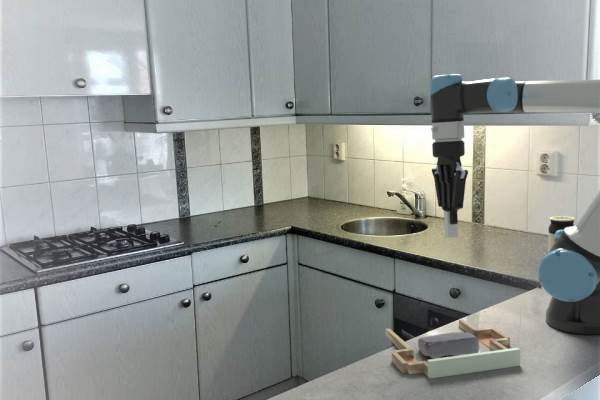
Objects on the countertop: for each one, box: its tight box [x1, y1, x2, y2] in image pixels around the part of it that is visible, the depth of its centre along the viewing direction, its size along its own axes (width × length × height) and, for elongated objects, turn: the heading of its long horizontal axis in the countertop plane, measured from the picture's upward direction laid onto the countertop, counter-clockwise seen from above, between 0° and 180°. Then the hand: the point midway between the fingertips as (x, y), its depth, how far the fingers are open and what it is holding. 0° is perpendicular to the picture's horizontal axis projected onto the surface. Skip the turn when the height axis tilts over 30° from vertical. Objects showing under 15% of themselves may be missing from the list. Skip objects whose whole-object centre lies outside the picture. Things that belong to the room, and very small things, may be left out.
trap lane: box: [385, 319, 521, 379], centre depth 129 cm, size 28×24×4 cm
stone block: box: [417, 331, 480, 359], centre depth 127 cm, size 12×5×10 cm
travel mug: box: [547, 215, 576, 253], centre depth 188 cm, size 8×8×18 cm
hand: (451, 236), depth 143 cm, fingers closed
